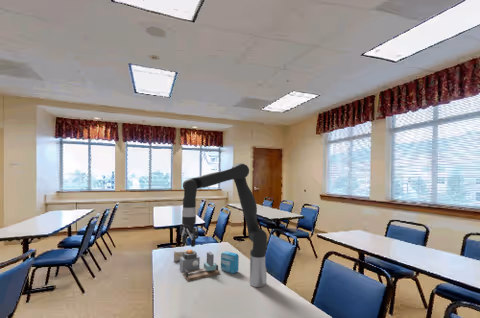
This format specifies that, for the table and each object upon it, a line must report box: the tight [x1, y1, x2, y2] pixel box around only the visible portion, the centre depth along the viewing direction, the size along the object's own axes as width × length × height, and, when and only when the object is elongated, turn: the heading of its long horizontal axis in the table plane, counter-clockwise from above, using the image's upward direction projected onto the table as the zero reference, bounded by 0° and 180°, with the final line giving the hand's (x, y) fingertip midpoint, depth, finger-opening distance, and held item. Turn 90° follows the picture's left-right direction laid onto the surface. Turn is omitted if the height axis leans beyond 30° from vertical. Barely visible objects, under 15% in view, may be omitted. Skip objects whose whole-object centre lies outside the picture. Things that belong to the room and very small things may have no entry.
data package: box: [220, 250, 240, 274], centre depth 161 cm, size 12×4×12 cm, turn 57°
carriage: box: [203, 251, 217, 271], centre depth 158 cm, size 6×7×10 cm
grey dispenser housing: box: [179, 250, 201, 273], centre depth 164 cm, size 12×8×11 cm
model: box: [173, 249, 188, 262], centre depth 178 cm, size 3×11×8 cm, turn 113°
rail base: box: [182, 262, 221, 282], centre depth 155 cm, size 22×10×4 cm, turn 121°
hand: (188, 244), depth 129 cm, fingers open, 8 cm apart
